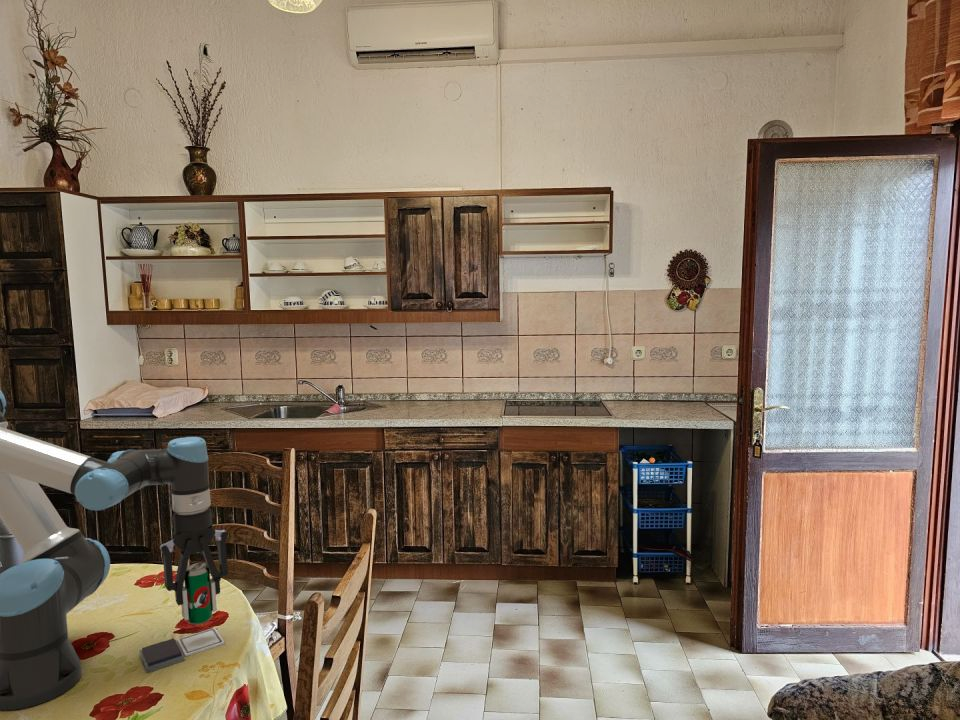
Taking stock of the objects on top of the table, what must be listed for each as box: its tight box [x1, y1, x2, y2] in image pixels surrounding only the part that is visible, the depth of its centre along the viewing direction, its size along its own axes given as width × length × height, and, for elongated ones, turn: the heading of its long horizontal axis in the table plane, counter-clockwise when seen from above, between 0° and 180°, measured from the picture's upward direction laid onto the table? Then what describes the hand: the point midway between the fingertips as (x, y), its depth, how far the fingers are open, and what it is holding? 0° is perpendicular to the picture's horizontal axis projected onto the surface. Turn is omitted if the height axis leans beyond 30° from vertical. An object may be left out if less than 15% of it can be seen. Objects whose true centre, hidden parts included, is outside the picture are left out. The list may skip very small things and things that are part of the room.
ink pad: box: [139, 637, 185, 674], centre depth 132 cm, size 7×8×2 cm
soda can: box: [184, 562, 213, 625], centre depth 137 cm, size 5×5×12 cm
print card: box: [176, 627, 226, 658], centre depth 138 cm, size 8×8×1 cm
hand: (199, 613), depth 137 cm, fingers closed on soda can, 5 cm apart
